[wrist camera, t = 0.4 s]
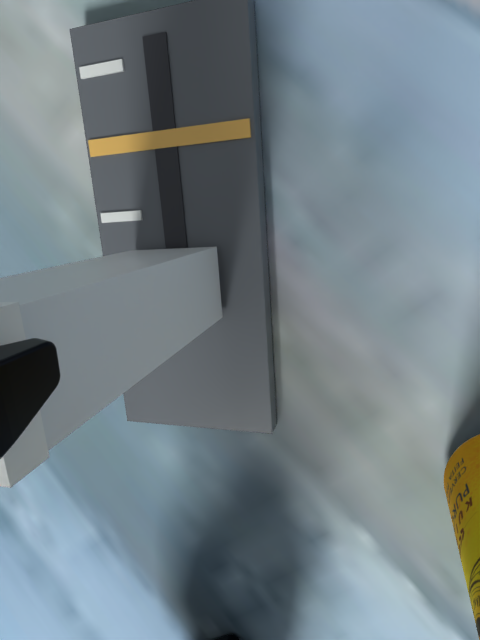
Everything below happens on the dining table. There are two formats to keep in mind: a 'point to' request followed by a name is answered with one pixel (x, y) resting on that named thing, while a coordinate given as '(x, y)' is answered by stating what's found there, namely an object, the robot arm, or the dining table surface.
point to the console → (187, 191)
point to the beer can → (466, 513)
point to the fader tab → (103, 332)
